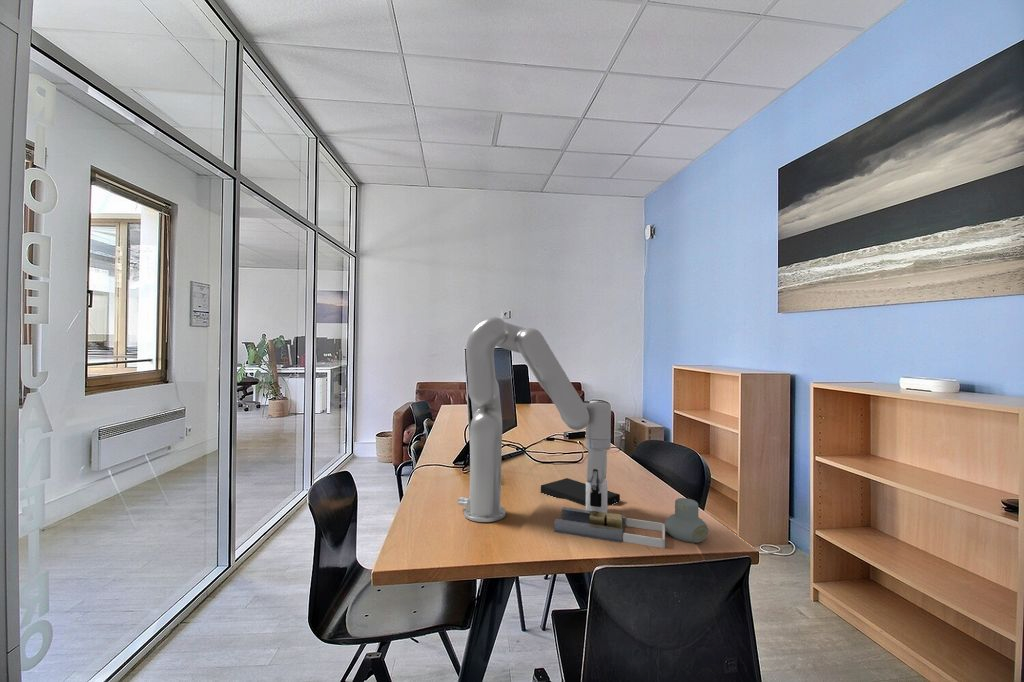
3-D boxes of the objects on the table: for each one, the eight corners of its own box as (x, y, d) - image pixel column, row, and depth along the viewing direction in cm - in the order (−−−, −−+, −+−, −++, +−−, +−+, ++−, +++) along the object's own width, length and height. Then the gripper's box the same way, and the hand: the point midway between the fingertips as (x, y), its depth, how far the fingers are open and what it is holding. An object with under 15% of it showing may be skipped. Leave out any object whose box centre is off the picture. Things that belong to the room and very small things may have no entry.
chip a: (589, 530, 118) (589, 515, 118) (591, 524, 121) (591, 510, 121) (604, 532, 116) (604, 517, 116) (606, 527, 120) (606, 512, 120)
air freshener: (685, 529, 122) (685, 493, 122) (712, 540, 115) (712, 502, 115) (660, 537, 116) (660, 500, 117) (687, 549, 109) (687, 510, 110)
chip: (606, 533, 116) (606, 518, 116) (605, 527, 120) (606, 513, 120) (621, 534, 115) (622, 519, 115) (620, 528, 119) (620, 514, 119)
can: (594, 509, 135) (594, 471, 136) (611, 515, 131) (611, 476, 131) (581, 515, 131) (581, 475, 131) (598, 521, 126) (598, 480, 126)
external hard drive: (567, 486, 160) (567, 477, 160) (619, 503, 143) (620, 494, 143) (540, 493, 151) (540, 485, 151) (593, 513, 134) (593, 503, 134)
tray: (623, 545, 111) (623, 533, 111) (626, 528, 122) (626, 517, 122) (664, 552, 108) (664, 540, 108) (664, 534, 118) (664, 523, 118)
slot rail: (553, 535, 116) (553, 522, 116) (564, 517, 129) (564, 506, 129) (621, 546, 110) (621, 532, 110) (625, 527, 123) (625, 514, 123)
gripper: (590, 437, 141) (589, 492, 140) (580, 448, 124) (580, 510, 124) (613, 438, 138) (613, 494, 138) (606, 450, 122) (606, 514, 121)
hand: (597, 501), depth 131 cm, fingers closed on can, 6 cm apart
